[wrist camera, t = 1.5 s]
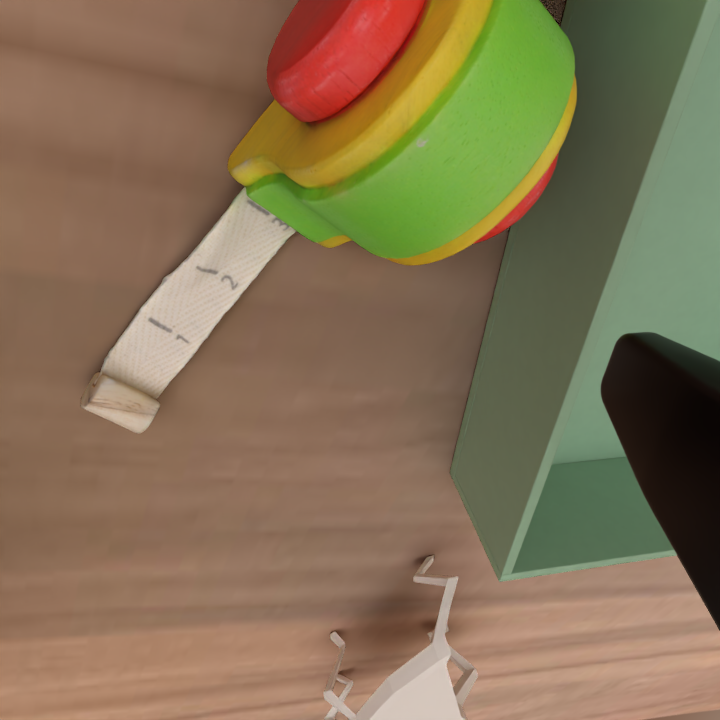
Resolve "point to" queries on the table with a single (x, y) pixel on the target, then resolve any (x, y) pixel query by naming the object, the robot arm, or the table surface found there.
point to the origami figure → (413, 674)
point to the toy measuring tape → (364, 160)
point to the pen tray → (597, 291)
